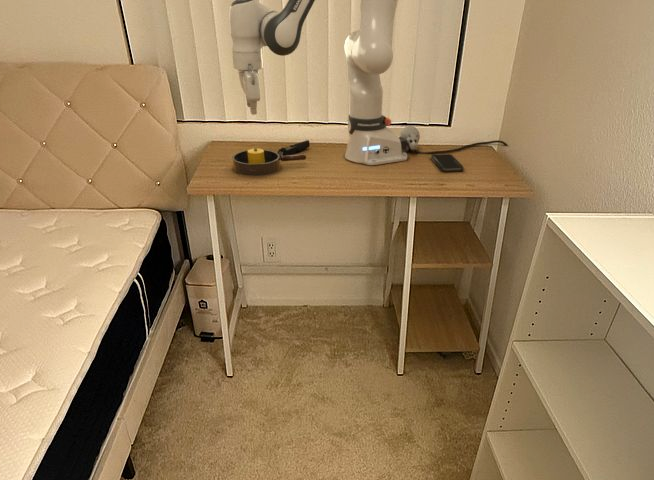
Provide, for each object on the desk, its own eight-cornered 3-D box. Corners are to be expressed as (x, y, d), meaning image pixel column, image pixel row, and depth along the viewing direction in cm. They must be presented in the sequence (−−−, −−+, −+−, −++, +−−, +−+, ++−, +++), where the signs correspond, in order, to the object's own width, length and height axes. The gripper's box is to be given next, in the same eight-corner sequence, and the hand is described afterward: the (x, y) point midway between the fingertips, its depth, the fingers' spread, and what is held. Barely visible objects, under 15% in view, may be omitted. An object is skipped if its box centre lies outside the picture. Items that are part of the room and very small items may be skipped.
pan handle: (305, 158, 192) (305, 153, 191) (306, 160, 190) (306, 155, 189) (279, 160, 190) (279, 155, 189) (280, 162, 188) (280, 156, 187)
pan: (276, 159, 196) (275, 148, 194) (283, 174, 184) (283, 162, 182) (231, 162, 193) (230, 151, 190) (236, 178, 181) (234, 165, 178)
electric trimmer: (312, 149, 207) (312, 140, 205) (283, 159, 197) (283, 150, 195) (304, 147, 208) (304, 138, 207) (275, 157, 198) (275, 147, 197)
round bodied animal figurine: (402, 157, 200) (404, 133, 195) (397, 147, 210) (399, 123, 205) (422, 157, 201) (424, 132, 196) (416, 147, 210) (418, 123, 205)
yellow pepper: (264, 164, 191) (262, 145, 187) (266, 169, 187) (264, 150, 183) (248, 165, 190) (246, 146, 186) (250, 170, 186) (248, 151, 182)
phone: (442, 168, 188) (430, 154, 199) (442, 172, 188) (430, 157, 200) (464, 168, 189) (451, 154, 200) (464, 171, 189) (451, 157, 201)
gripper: (263, 67, 161) (266, 118, 170) (254, 55, 177) (257, 102, 186) (241, 68, 160) (245, 119, 169) (234, 55, 176) (238, 102, 184)
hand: (251, 110), depth 177 cm, fingers open, 8 cm apart
